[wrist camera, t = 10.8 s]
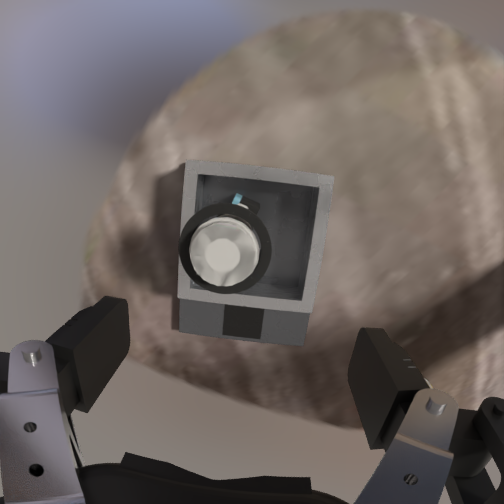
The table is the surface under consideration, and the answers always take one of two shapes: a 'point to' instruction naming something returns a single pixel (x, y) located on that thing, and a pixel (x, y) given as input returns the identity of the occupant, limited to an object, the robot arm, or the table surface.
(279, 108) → the table surface
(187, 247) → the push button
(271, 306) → the gray open box
